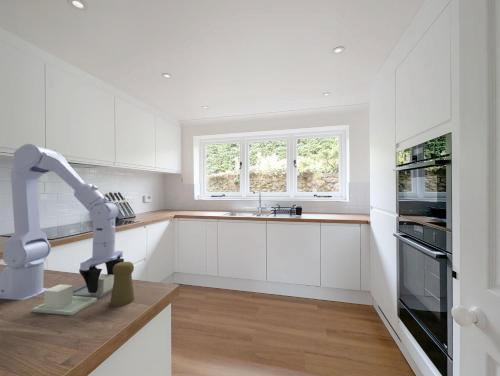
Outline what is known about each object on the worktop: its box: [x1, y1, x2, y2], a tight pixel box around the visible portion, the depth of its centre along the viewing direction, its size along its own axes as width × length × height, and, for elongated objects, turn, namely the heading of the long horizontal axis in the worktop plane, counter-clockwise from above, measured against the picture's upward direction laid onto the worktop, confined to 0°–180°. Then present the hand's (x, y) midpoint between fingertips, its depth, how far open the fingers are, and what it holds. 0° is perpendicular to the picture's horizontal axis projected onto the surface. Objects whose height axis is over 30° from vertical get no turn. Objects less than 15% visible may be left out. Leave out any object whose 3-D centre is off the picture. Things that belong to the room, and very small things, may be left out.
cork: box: [109, 261, 135, 307], centre depth 65 cm, size 6×6×11 cm
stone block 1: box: [43, 284, 74, 309], centre depth 62 cm, size 4×4×4 cm
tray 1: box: [31, 296, 98, 316], centre depth 62 cm, size 11×8×1 cm
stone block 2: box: [90, 273, 114, 295], centre depth 71 cm, size 4×4×4 cm
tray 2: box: [73, 284, 112, 300], centre depth 71 cm, size 11×9×1 cm
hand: (102, 287), depth 71 cm, fingers open, 7 cm apart
